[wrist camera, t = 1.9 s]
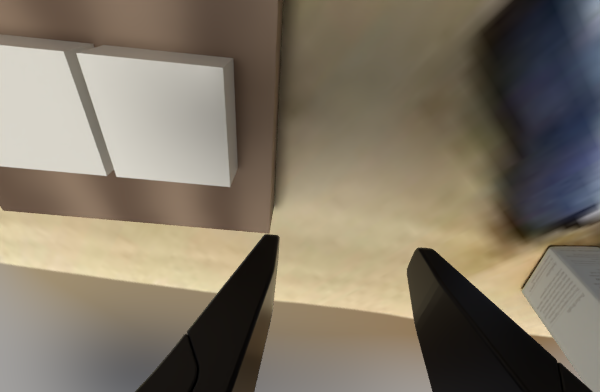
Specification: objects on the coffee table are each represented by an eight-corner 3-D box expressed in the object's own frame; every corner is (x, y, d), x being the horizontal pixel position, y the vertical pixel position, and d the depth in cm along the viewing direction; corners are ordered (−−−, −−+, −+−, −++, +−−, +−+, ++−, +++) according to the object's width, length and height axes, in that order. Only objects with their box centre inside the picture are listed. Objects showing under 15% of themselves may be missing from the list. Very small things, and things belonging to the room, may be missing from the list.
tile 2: (233, 58, 14) (222, 67, 12) (237, 168, 17) (230, 187, 16) (104, 44, 14) (75, 52, 12) (135, 158, 17) (116, 176, 15)
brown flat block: (286, -69, 13) (281, -82, 11) (273, 206, 23) (269, 233, 20) (-122, -116, 13) (-223, -140, 10) (37, 185, 22) (3, 210, 20)
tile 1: (93, 43, 14) (63, 51, 12) (126, 158, 17) (106, 175, 15) (-40, 30, 13) (-88, 36, 12) (21, 148, 17) (-10, 165, 15)
